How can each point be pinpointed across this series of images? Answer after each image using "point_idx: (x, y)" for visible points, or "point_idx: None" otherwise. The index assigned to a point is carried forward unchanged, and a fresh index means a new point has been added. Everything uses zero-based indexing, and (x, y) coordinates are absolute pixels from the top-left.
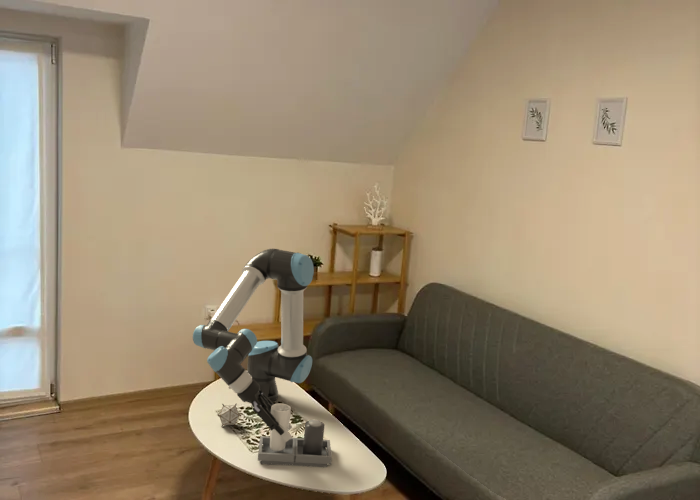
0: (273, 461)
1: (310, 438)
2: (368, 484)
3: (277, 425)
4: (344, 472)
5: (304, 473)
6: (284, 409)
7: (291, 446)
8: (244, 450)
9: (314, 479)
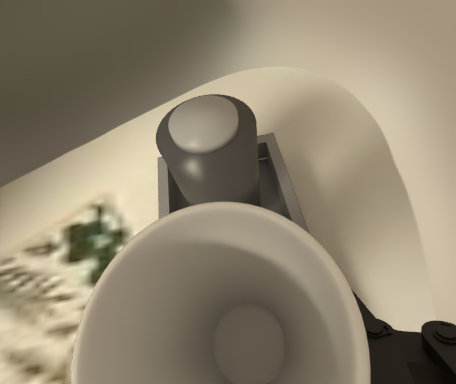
0: None
1: (257, 167)
2: (319, 76)
3: (437, 322)
4: (287, 123)
5: (345, 212)
6: (131, 304)
7: None
8: None
9: (365, 179)
